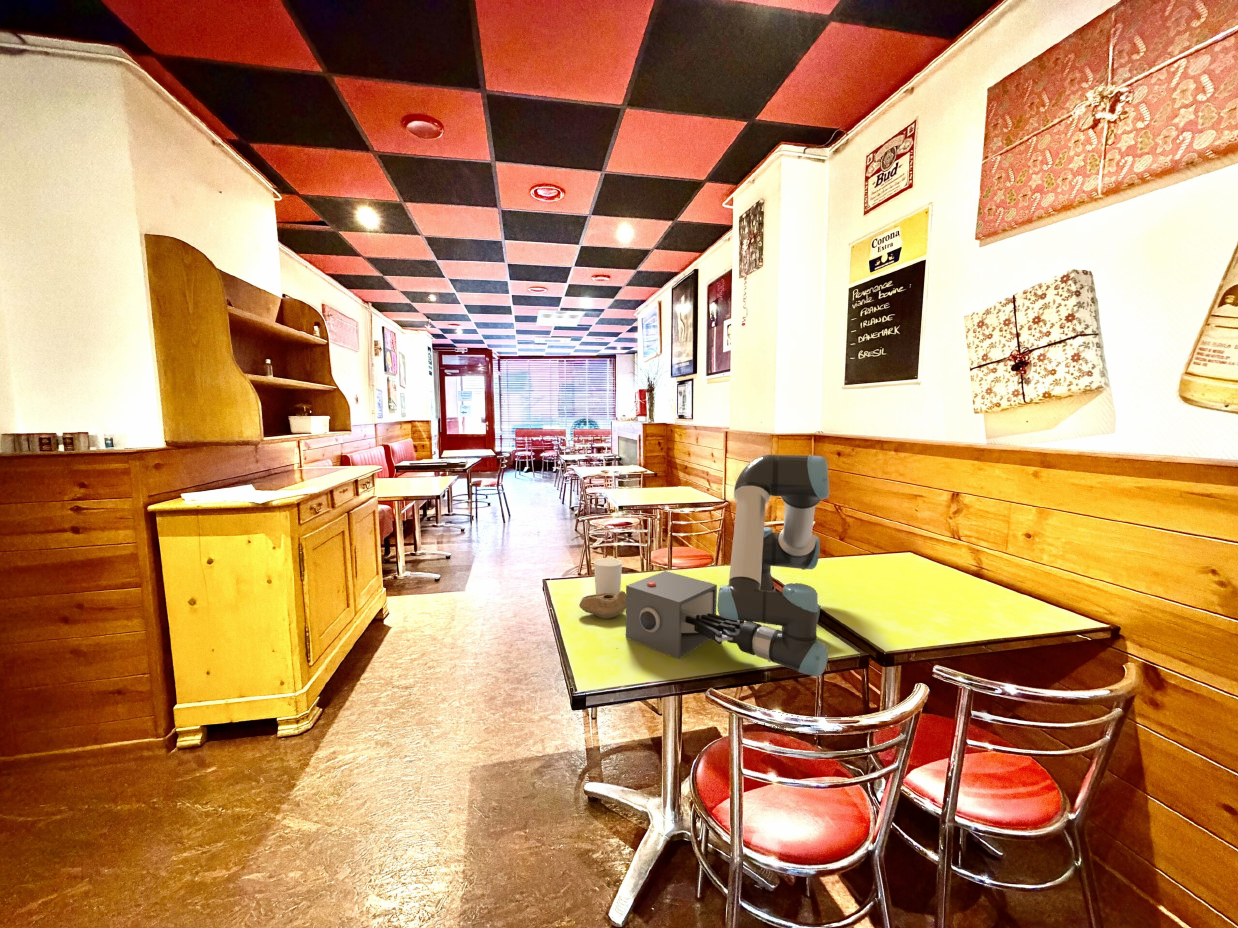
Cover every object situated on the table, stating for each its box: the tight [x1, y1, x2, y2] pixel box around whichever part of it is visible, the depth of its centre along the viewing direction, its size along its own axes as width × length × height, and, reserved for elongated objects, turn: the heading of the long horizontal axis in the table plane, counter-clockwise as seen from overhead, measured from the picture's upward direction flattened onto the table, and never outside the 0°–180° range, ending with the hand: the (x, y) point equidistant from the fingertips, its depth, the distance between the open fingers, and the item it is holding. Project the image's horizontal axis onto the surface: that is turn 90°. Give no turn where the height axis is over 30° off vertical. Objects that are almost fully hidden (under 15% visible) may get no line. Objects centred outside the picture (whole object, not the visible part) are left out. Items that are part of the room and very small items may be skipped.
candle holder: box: [593, 557, 623, 595], centre depth 167 cm, size 10×10×12 cm
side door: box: [681, 591, 713, 633], centre depth 134 cm, size 15×1×12 cm, turn 93°
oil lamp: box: [578, 590, 626, 620], centre depth 150 cm, size 11×15×8 cm
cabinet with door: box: [625, 570, 718, 660], centre depth 134 cm, size 20×18×16 cm
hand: (678, 614), depth 133 cm, fingers closed
